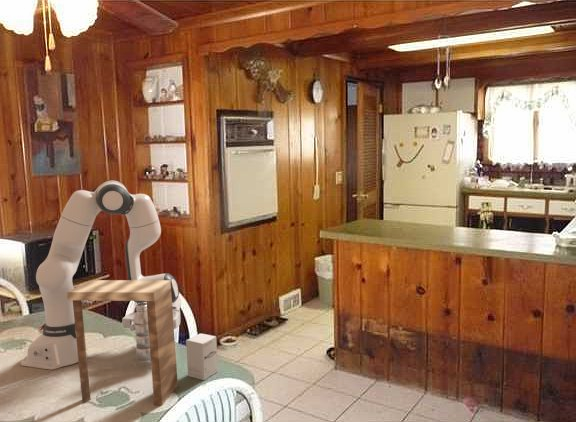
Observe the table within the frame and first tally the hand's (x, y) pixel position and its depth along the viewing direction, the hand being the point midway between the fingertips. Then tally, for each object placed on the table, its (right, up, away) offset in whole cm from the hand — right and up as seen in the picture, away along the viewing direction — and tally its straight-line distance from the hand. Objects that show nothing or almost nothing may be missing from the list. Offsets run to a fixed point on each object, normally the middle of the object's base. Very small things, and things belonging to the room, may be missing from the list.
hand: (142, 328), depth 176 cm
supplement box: (+22, -14, -5) cm, 27 cm away
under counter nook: (+1, -16, -17) cm, 23 cm away
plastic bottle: (+1, -11, +3) cm, 12 cm away
